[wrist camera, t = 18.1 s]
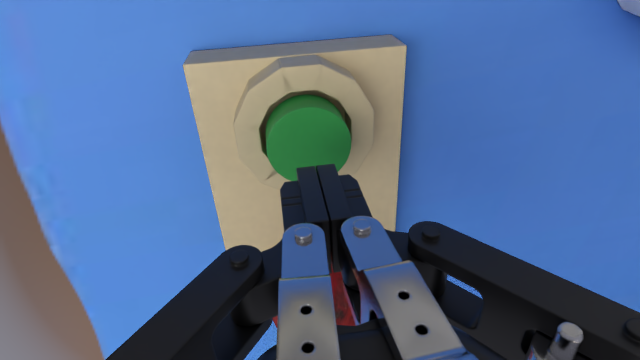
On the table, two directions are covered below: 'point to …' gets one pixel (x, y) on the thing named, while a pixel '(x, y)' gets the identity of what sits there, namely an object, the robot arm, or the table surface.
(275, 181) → the green button plaque
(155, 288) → the table surface
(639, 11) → the foam cup
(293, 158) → the button
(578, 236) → the table surface
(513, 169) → the table surface
